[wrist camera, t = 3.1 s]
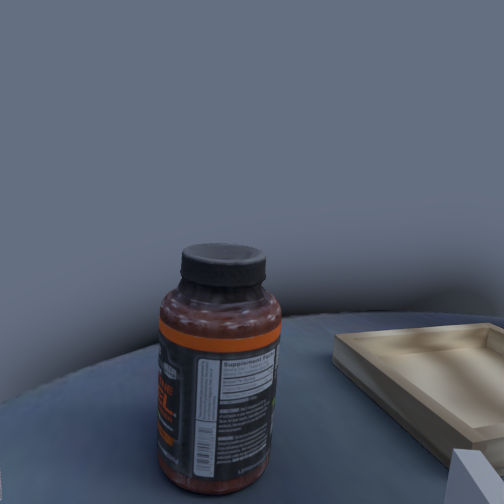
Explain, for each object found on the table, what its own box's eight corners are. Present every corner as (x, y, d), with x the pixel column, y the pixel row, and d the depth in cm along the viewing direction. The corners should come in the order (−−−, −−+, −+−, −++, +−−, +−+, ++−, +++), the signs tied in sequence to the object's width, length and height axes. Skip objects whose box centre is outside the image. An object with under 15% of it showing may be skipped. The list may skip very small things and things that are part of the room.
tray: (484, 347, 40) (488, 322, 40) (664, 438, 27) (674, 404, 27) (331, 362, 35) (334, 334, 35) (465, 484, 22) (472, 442, 22)
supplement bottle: (148, 435, 25) (151, 238, 22) (246, 418, 27) (258, 237, 25) (167, 515, 19) (174, 266, 17) (289, 486, 21) (309, 262, 19)
